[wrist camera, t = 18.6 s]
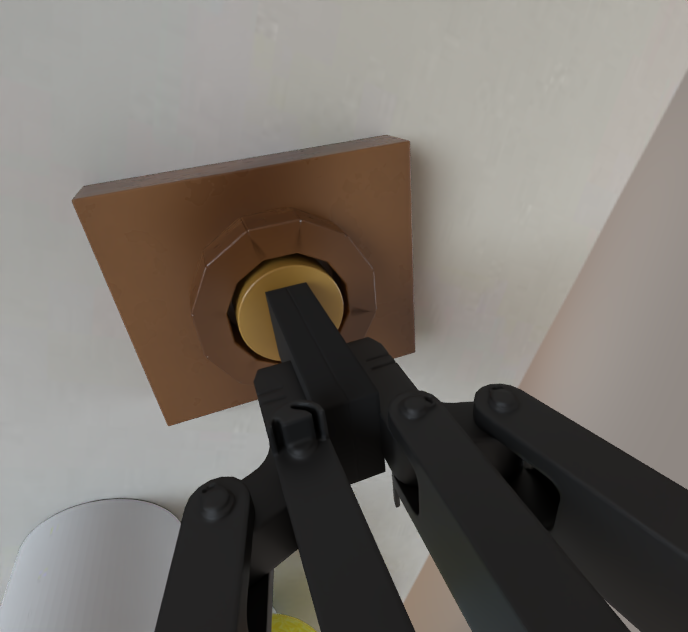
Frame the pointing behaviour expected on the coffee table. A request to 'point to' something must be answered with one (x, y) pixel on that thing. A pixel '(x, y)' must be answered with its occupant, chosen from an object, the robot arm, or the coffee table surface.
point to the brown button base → (251, 257)
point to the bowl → (288, 624)
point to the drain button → (275, 276)
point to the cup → (92, 570)
